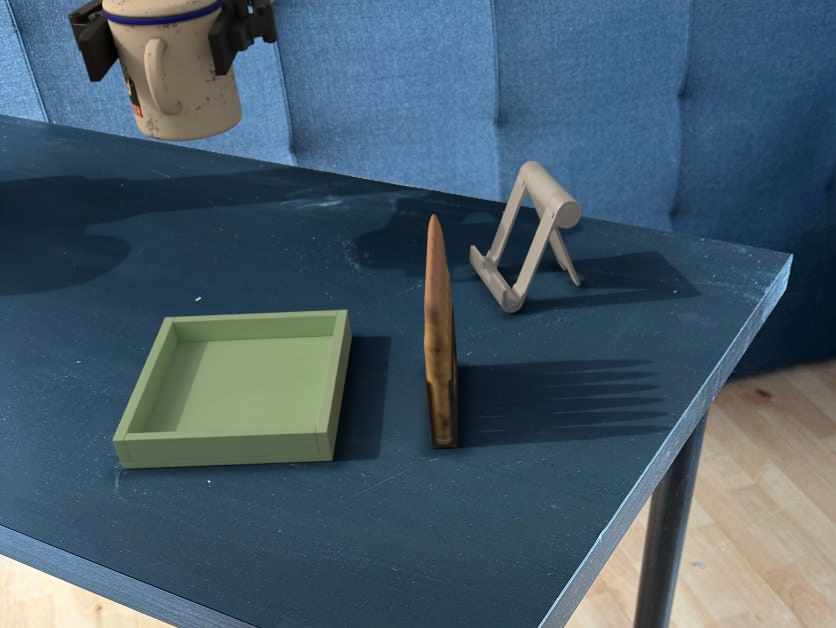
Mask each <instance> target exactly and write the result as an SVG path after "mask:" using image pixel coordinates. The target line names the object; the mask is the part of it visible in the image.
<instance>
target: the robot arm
mask: <svg viewBox="0 0 836 628" xmlns="http://www.w3.org/2000/svg"><path fill="white" fill-rule="evenodd" d="M102 3H103V0H90V1H89V2H87V3H85V4H83V5H82V6H80V7H78V8H77V9H75V10H73V11H71V12H70V13H68V14H67V18H68V20H69V24H70V27H71V28H70V29H71V31H72V35H73V37H74V40H75V44H76V46H77V50H78V51H79V52H80V53H81V56H82V59H83V63H84V66H85V69H86V72H87V75H88V79H89V82H90V83H97V82H100V83H101V81H103V79H104V78H105V76H106V75H107V74H108V72H109V71H110V70H111V68H112V67H113V66H114V65H115V63H116V62H117V61H118V60H119V58H118V54H117V51H116V47H115V44H114V40H113V37H112V33H111V29H110V26H109V22H108V19H107V18H105V17H104V15H103V13H102V9H103V6H102ZM275 4H276V3H275V0H223V3H222V5H221V9H222V10H221V12H220V14H219V16H218V17H217V19H216V21H215V22H214V24H213V26H212V27H211V29H210V31H209V33H208V34H207V35H208V40H209V44H210V49H211V53H212V58H213V62H214V67H215V72H216V76H224V75H227V73H228V71H229V69H230V67H231V65H232V64H233V63H234V61H235V59H236V57H237V55H238V53H240V52H246V51H247V50H248V49H249V47H252V45H253V46H254V45H255V44H256V42H255V39H257V38H261V39H262V42H263V43H267V44H275V43H276V42H278V41H279V38H278V30H277V26H276V19H275V13H276V11H277V10H276V5H275ZM249 7H250V8H251V10H252V12H250V10H249Z"/></svg>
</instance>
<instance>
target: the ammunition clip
mask: <svg viewBox="0 0 836 628" xmlns="http://www.w3.org/2000/svg"><path fill="white" fill-rule="evenodd" d="M442 230H443V229H442V226H441V224H440V221H439V219H438V216H437V215H436V214H435V213H432V215H431V217H430V219H429V223H428V229H427V245H426V268H425V283H424V284H425V285H424V286H425V287H424V305H423V306H424V310H423V311H424V337H423V351H424V360H425V361H424V362H425V377H424V385H425V386H424V387H425V398H426V410H427V421H428V430H429V431H428V432H429V442H430V449H445V448H458V441H459V440H458V439H459V438H458V435H459V433H458V430H459V429H458V428H459V426H458V422H459V421H458V418H459V417H458V416H459V413H458V409H459V407H458V404H459V402H458V400H459V399H458V397H459V395H458V393H459V392H458V391H459V388H458V387H459V380H458V377H459V376H458V375H459V374H458V373H459V370H458V369H459V368H458V367H459V366H458V352H457V351H458V350H457V337H456V321H455V306H454V305H453V304H452V303H453V302H452V289H451V276H450V272H449V268H448V264H447V263H448V262H447V254H446V247H445V246H446V245H445V240H444V234H443V231H442Z"/></svg>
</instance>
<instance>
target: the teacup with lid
mask: <svg viewBox="0 0 836 628" xmlns="http://www.w3.org/2000/svg"><path fill="white" fill-rule="evenodd" d="M222 3H223V0H103V3H102V6H103V9H102V13H103V15H104V17H105V18H107V19H108V22H109V26H110V29H111V33H112V37H113V40H114V44H115V47H116V51H117V54H118V61H119V66H120V68H121V72H122V76H123V79H124V82H125V86H126V90H127V94H128V96H129V97H128V98H129V101H130V104H131V108H132V112H133V114H134V119H135V122H136V124H137V129H138V130H139V131H140V132H141V133H142V134H143V135H145V136H146V137H148V138H151V139H154V140H158V141H165V142H189V141H196V140H197V141H198V140H204V139H208V138H212V137H215V136H218V135H221V134H223V133H227V132H228V131H230V130H232V129H233V128H235V127H236V126H237V125H238V124H239V123H240V121H241V120H242V119H243V109H242V104H241V100H240V94H239V89H238V85H237V80H236V74H235V70H234V65H233V63H232V65H231V67H230V69H229V71H228V73H227V75H224V76H216V72H215V67H214V62H213V58H212V53H211V49H210V44H209V40H208V35H207V34H208V33H209V31H210V29H211V27H212V26H213V24H214V22H215V21H216V19H217V17H218V16H219V14H220V12H221V10H222V9H221V5H222Z"/></svg>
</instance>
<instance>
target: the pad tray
mask: <svg viewBox="0 0 836 628" xmlns="http://www.w3.org/2000/svg"><path fill="white" fill-rule="evenodd" d="M351 329H352V328H351V323H350V316H349V310H348V309H333V310H308V311H306V310H305V311H285V312H283V311H282V312H259V313H240V314H237V313H236V314H234V313H233V314H215V315H214V314H213V315H191V316H190V315H189V316H188V315H187V316H166V317H164V319H163V322H162V324H161V326H160V329H159V331H158V334H157V335H156V338H155V340H154V342H153V344H152V347H151V350H150V352H149V355H148V357H147V359H146V361H145V364H144V365H143V368H142V371H141V373H140V375H139V378H138V379H137V382H136V384H135V387H134V389H133V391H132V393H131V396H130V399H129V401H128V403H127V406H126V408H125V410H124V412H123V415H122V417H121V419H120V422H119V424H118V426H117V429H116V432H115V434H114V436H113V438H112V444H113V446H114V448H115V451H116V453H117V456H118V458H119V461H120V463H121V466H122V468H123V470H126V469H127V470H129V469H149V468H150V469H153V468H154V469H156V468H157V469H158V468H177V467H178V468H179V467H202V466H204V467H205V466H207V467H208V466H231V465H258V464H259V465H260V464H261V465H262V464H282V463H285V464H286V463H309V462H312V463H313V462H332V461H333V459H334V453H335V448H336V447H335V446H336V441H337V434H338V427H339V422H340V415H341V408H342V401H343V394H344V389H345V383H346V376H347V370H348V365H349V355H350V352H351V345H352V339H353V336H352V330H351Z"/></svg>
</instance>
